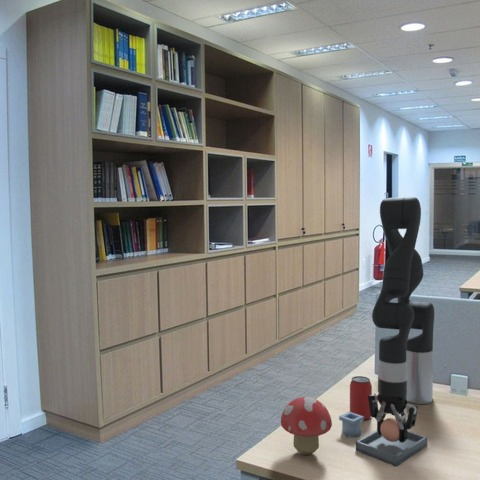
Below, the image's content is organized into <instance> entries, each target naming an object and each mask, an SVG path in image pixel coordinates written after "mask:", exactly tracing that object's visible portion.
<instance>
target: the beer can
mask: <svg viewBox="0 0 480 480" xmlns="http://www.w3.org/2000/svg"><path fill="white" fill-rule="evenodd" d="M372 390H373V386H372V383H371V379H370V378H369V377H367V376H361V375H357V376H352V377H351V382H350V384H349V412H352V413H355V414H358V415H361V416H364V420H363V421H368V420H370V419H371V418H372V417H371V415H370V409H369V401H368V396H369V395H371V394H373V393H372V392H373V391H372Z"/></svg>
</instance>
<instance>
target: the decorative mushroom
mask: <svg viewBox="0 0 480 480" xmlns="http://www.w3.org/2000/svg"><path fill="white" fill-rule="evenodd" d="M332 421H333V420H332V417H331V414H330V412H329V410H328V409H327V407H326V406H325V405H324V404H323V403H322V402H321V401H319V400H318V399H316V398H314V397H309V396H300V397H296V398H294V399H292V400H291V401H290V402H288V403H287V405H286V406H285V408H284V409H283V411H282V413H281V416H280V425H281V428H282V429H283V430H284V431H286V432H287V433H289V434H291V435H293V443H292V444H293V447H294V449H295V450H296V451H297V452H298V453H300V454H301V455H304V456H309V455H312V454H314V453H315V452H316V451H317V450H318V449H319V446H320V445H319V444H320V441H319V436H322V435H325V434H327V433H328V432H329V431H330V430H331V429H332V426H333V423H332Z"/></svg>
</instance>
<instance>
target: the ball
mask: <svg viewBox="0 0 480 480" xmlns="http://www.w3.org/2000/svg"><path fill="white" fill-rule="evenodd" d="M399 429H400V426H399V424H398V421H396V418H395V417H394V418H393V417H388V418H386V419H384V421H383V422H382V424H381V427H380V431H381V434H382V436H383V437H384V438H385V439H386V440H388V441H390V442H396V441H398V440H399Z"/></svg>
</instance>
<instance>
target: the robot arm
mask: <svg viewBox="0 0 480 480" xmlns="http://www.w3.org/2000/svg"><path fill="white" fill-rule="evenodd" d="M421 216H422V208H421V203H420V200H419V199H418V198H417V197H415V196H405V197H404V196H403V197H388V198H384V199H382V200H381V202H380V205H379V217H380V221H381V225H382V226H381V227H382V230H383V232H384V233H383V234H384V237H385V239H386V242H387V247H388V248H387V249H388V252H389V253H388V254H389V256H388V258H387V259H386V261H385V264H384V267H383V276H382V283H381V284H382V285H381V289H380V292H379V295H378V298H377V300H376V302H375V304H374V307H373V309H372V313H371V319H372V322H373V324H374V325H375V326H376V327H377V328H380V329H388V330H399V331H398V333H397V334H395V335H389V336H383V337H382V338H380V339H379V343H378V345H379V346H378V364H377V365H378V366H377V392H378V394H376V393H372V394H371V395H369V396H368V401H369V409H370V415H371V418H374V419H375V420H376V430H377V431H378V434H379V435H382V434H381V431H380V427H381V424H382V422H383V421H384V420H385V418H386V416H387V414H390V415H391V416H394V419H396V421H398V424H399V426H400V429H399V442H401V443H403V442H405V441H406V440H407V438H408V435H407V434H408V431H409V430H410V429H413V428H414V427H415V426H416V423H417V422H416V420H417V416H418V410H419V407H418V405H426V404H430V403H432V402H433V394H434V393H433V391H434V390H433V385H434V384H433V383H434V380H433V379H434V375H433V373H434V372H433V364H434V363H433V362H434V361H433V359H434V358H433V356H434V355H433V354H434V352H433V351H434V326H435V307H434V305H433V304H432V303H431V302H428V301H427V302H425V301H415V300H410V297H411V295H412V294H413V293H414V291H415V290H416V289H417V288H418V286H419V285H420V284H421V283H422V280H423V277H424V267H423V262H422V261H423V260H422V257H421V255H420V254H419V251H417V250H416V249H415V247H416V244H417V240H418V234H419V231H420V225H421V219H422V217H421ZM399 230H405V233H404V235H403V236H402V234H401V232H400V231H399ZM394 299H397V302H392V300H394ZM411 329H413V330H420V331H421V333H420V334H418V335H416V336H411V337H409V334H410V333H411V332H410V331H411ZM410 403H412V404H417V405H412V404H410ZM379 405H380V407H379ZM405 410H406V411H405Z"/></svg>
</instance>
